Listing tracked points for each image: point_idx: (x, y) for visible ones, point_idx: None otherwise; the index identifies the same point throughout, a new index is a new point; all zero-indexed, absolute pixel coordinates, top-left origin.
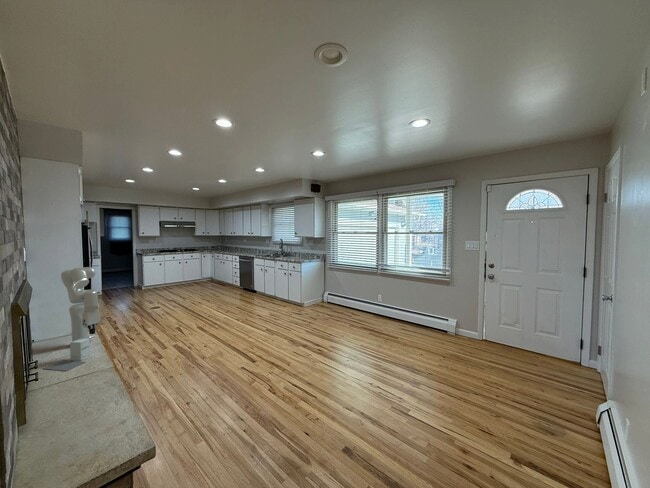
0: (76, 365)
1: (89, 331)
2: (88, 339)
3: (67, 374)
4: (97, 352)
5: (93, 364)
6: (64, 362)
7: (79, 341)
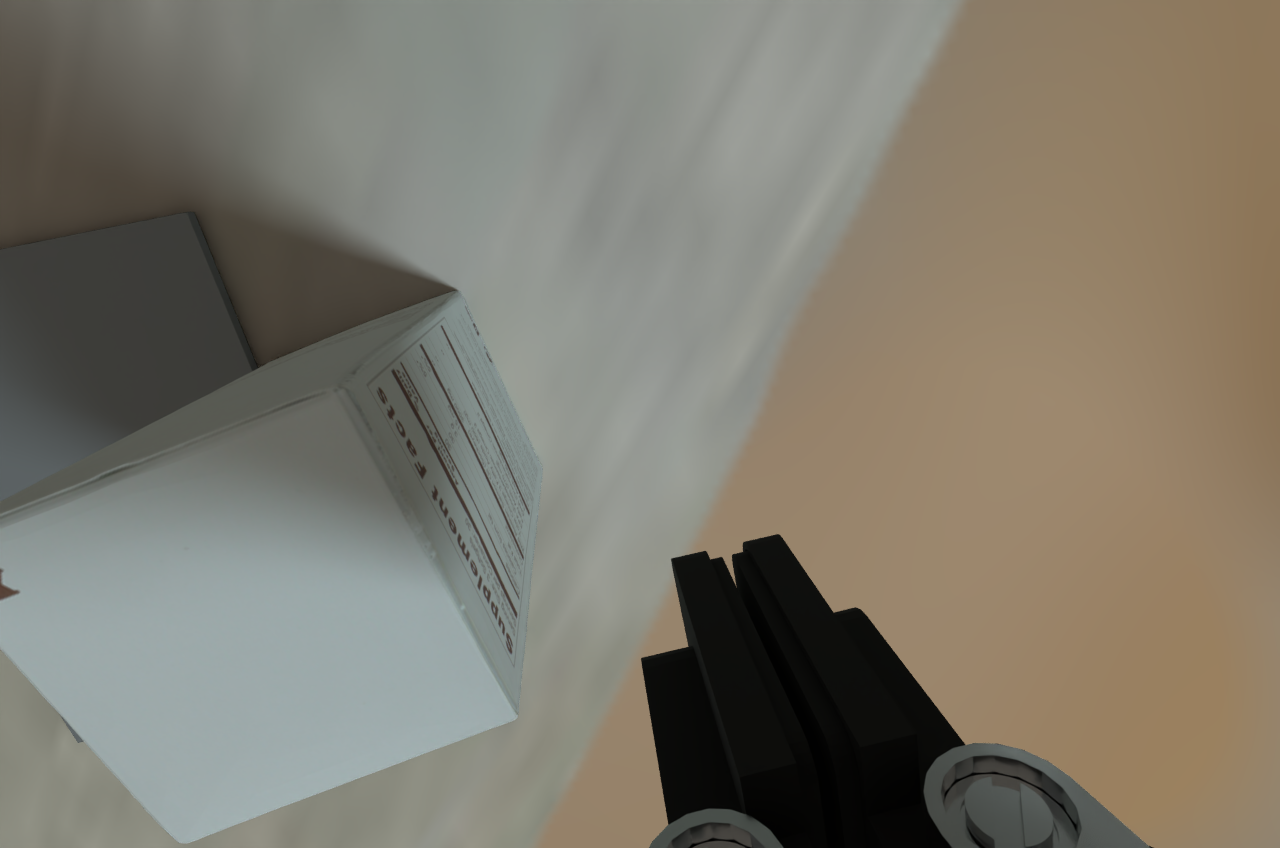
0: None
1: (656, 731)
2: (484, 724)
3: (68, 836)
4: (699, 413)
5: (403, 811)
6: (157, 374)
7: (191, 744)
